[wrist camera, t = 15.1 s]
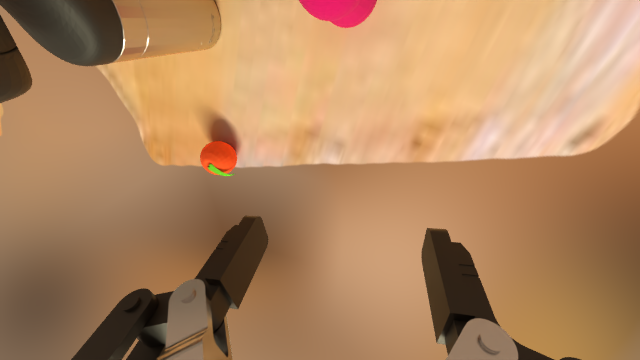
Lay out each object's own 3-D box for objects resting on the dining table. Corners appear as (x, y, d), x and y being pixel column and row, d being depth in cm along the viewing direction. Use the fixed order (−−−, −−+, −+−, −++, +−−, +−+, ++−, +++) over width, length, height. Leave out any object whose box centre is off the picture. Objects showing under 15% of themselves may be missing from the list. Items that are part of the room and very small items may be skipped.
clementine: (252, 153, 49) (235, 170, 44) (239, 172, 53) (222, 191, 47) (220, 129, 48) (198, 143, 42) (209, 151, 52) (187, 167, 46)
